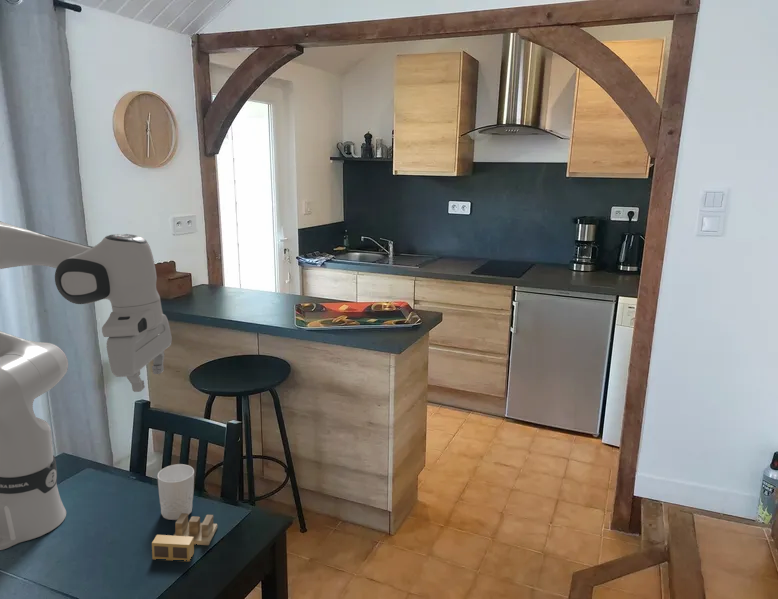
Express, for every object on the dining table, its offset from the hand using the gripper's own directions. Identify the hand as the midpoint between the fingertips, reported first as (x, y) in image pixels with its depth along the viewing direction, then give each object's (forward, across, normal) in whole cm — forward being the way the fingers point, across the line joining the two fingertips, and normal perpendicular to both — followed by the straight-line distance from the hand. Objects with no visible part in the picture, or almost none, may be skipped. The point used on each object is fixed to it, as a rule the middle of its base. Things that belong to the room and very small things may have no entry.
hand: (149, 381), depth 112 cm
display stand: (+36, 0, +4) cm, 37 cm away
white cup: (+36, -8, -2) cm, 37 cm away
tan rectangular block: (+36, +7, +2) cm, 37 cm away
